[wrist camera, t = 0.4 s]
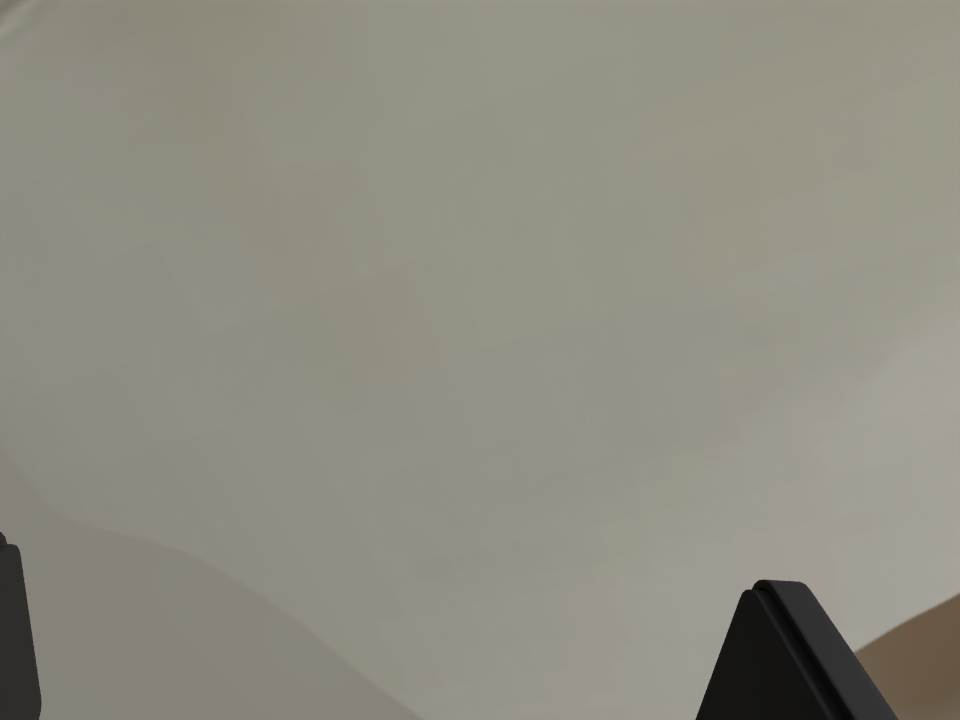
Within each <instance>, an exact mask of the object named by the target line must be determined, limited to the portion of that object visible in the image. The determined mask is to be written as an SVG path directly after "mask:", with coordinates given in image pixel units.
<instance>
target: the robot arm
mask: <svg viewBox="0 0 960 720" xmlns="http://www.w3.org/2000/svg"><path fill="white" fill-rule="evenodd" d="M40 712H41V694H40V687H39V680H38V673H37V666H36V659H35V653H34V646H33V638H32V631H31V624H30V617H29V610H28V604H27V597H26V590H25V583H24V577H23V569H22V562H21V555H20V551H19V549H18V547H17V546H16V545H13V544H7V542H6V539H5V536H4V535H3V534H2V533H1V532H0V720H39V716H40ZM696 720H898V718H897V717H896V715H895V714H894V712H893V711H892V709H891V708H890V706H889V705H888V703H887V702H886V701H885V699H884V698H883V696H882V695H881V694H880V692H879V690H878V689H877V687H876V686H875V685H874V683H873V682H872V680H871V678H870V677H869V675H868V674H867V673H866V671H865V670H864V668H863V667H862V665H861V664H860V662H859V661H858V659H857V658H856V656H855V655H854V653H853V652H852V651H851V649H850V648H849V646H848V645H847V643H846V642H845V640H844V639H843V637H842V636H841V634H840V633H839V631H838V630H837V628H836V627H835V626H834V624H833V623H832V621H831V620H830V618H829V617H828V615H827V614H826V612H825V611H824V609H823V608H822V606H821V605H820V603H819V602H818V601H817V599H816V598H815V596H814V595H813V593H812V592H811V590H810V589H809V588H808V587H807V586H806V585H805V584H803V583H801V582H794V581H778V580H759V581H757V582H756V583H755V584H754V586H753V588H752V590H745V591H744V592H743V593H742V595H741V597H740V600H739V602H738V605H737V608H736V611H735V613H734V616H733V619H732V621H731V624H730V627H729V630H728V632H727V635H726V638H725V641H724V643H723V646H722V649H721V652H720V654H719V657H718V660H717V662H716V665H715V668H714V671H713V673H712V676H711V679H710V682H709V684H708V687H707V690H706V693H705V695H704V698H703V701H702V703H701V706H700V709H699V712H698V714H697V717H696Z"/></svg>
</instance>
